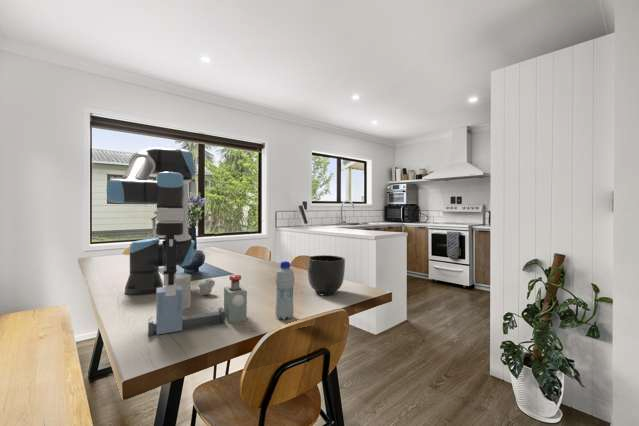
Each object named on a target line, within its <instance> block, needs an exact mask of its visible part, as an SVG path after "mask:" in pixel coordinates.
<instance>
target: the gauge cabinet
mask: <svg viewBox="0 0 639 426" xmlns="http://www.w3.org/2000/svg"><path fill="white" fill-rule="evenodd" d="M223 291H224V292H223V309H224V310H225V320H227V322H228V323H234V322H240V321H245V320H247V318H248V317H247V315H248V314H247V312H248V311H247V308H248V307H247V304H248V302H247V301H248V300H247V299H248V297H247V296H248V293H247V292H248V291H247V290H246V289H245V288H244V287H243V286H242V285H239V290H236V291H231V286H224V287H223Z"/></svg>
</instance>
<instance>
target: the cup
mask: <svg viewBox="0 0 639 426" xmlns="http://www.w3.org/2000/svg"><path fill="white" fill-rule="evenodd" d="M191 280H192V275H191V274H188V273H176V286H181V287H182V293H183V311H184V310H188V309H190V308H191V302H192V300H191V294H192V293H191V290H192V287H191V284H192V281H191Z"/></svg>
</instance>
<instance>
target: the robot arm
mask: <svg viewBox="0 0 639 426" xmlns="http://www.w3.org/2000/svg"><path fill="white" fill-rule="evenodd" d="M195 171H196V170H195V163H194V155H193V152H192V151H191V150H188V149H182V148H166V147H157V146H156V147H148V148H145V149H141V150H139V151H137V152H135V153H134V154H132V155H131V157H130V158H129V162H128V167H127V168H126V170H125V172H124V174H123V175H122V177H121V179H120V178H116V179H115V178H113V179H112V178H111V179H109V180H108V181H107V184H106V196H107V197H106V198H107V200H108V201H109V202H111V203H118V204H119V203H120V204H156V210H155V211H154V212H153V214H154V215H156V225H155V226H156V228H155V231H156V232H155V234H156V235H157V236H163V240H162V241H161V240H160V238H158V237H153V238H145V239H144V238H143V239H140V240H136V241H133V242H131V243H130V244H129V245H130V246H129V252H128V253H129V276H128V278H127V282H126V283H125V286H124V293H125V294H127V295H135V296H137V295H148V294H153V293H156V292H157V288H161V287H165V296H173V295H176V274H177V270H178V269H177V266H178V267H179V266H181V267H183V266H189V265H191V263H192V261H193V257H194V251H195V243H196V241H195V240H193V239H192V236H191V235H190V234H189V183H190V182H191V181H193V177H195V176H196V172H195ZM151 175H157V176H156V180H149V178H150V176H151ZM160 267H163V279H162V277H161V275H160Z"/></svg>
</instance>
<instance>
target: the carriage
mask: <svg viewBox="0 0 639 426" xmlns="http://www.w3.org/2000/svg"><path fill="white" fill-rule="evenodd" d="M155 293H156V295H155V296H156V300H155V301H156V307H155V308H156V309H155V310H156V313H155V314H156V315H155V316H156V317H155V319H156V320H155V321H157V334H156V335H163V334H167V333H168V334H169V333H175V332H181V331H183V329H182V317H183V313H184V312H183V311H184V310H183V293H182V287H181V286H176V295H173V296H165V286H163V287H161V288H157V292H155Z"/></svg>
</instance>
